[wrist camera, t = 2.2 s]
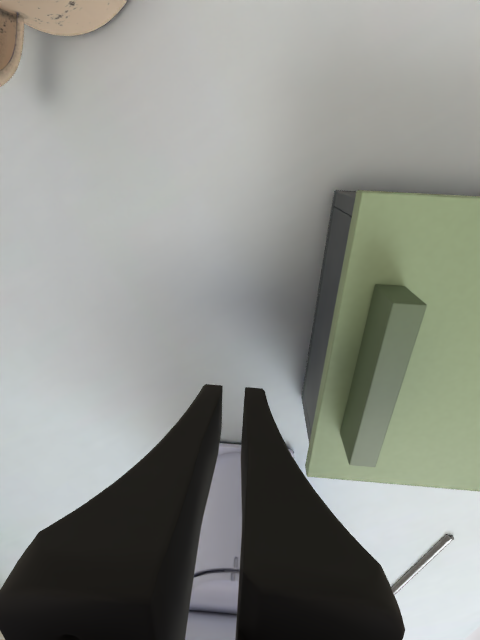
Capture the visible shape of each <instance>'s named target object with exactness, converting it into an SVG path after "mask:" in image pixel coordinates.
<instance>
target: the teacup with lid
mask: <svg viewBox="0 0 480 640" xmlns="http://www.w3.org/2000/svg"><path fill="white" fill-rule="evenodd" d="M126 2H127V0H0V87H1V86H3V85H4V84H5V83H7V82H8V81H9V80H10V79H11V78H12V76H13V75H14V73H15V72H16V70H17V68H18V65H19V62H20V59H21V54H22V48H23V38H24V24H26V25H28V26H30V27H32V28H34V29H37V30H39V31H42V32H45V33H49V34H52V35H59V36H76V35H81V34H86V33H89V32H91V31H94V30H96V29H98V28H100V27H101V26H103V25H104V24H106V23H107V22H109V21H110V20H111V19H112V18H113V17H114V16H115V15H116V14H117V13H118V12H119V11H120V10H121V9H122V7H123V6H124V5H125V3H126Z"/></svg>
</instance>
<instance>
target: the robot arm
mask: <svg viewBox="0 0 480 640" xmlns="http://www.w3.org/2000/svg"><path fill="white" fill-rule="evenodd" d="M221 424H222V386H221V385H207V384H206V385H205V386H203V387H202V389H201V391H200V392H199V394H198V395H197V397H196V398H195V400H194V401H193V403H192V404H191V405H190V407H189V408H188V410H187V411H186V412H185V413H184V415H183V416H182V417H181V418H180V420H179V421H178V422H177V423H176V425H175V426H174V427H173V428H172V429H171V430H170V431H169V432H168V433H167V435H166V436H165V437H164V438H163V439H162V440H161V441H160V442H159V443H158V444H157V445H156V446H155V447H154V448H153V449H152V450H151V451H150V452H149V453H148V454H147V455H146V456H145V457H144V458H143V459H142V460H141V461H140V462H138V463H137V464H136V465H135V466H134V467H133V468H131V469H130V470H129V471H128V472H127V473H126V474H124V475H123V476H122V477H121V478H119V479H118V480H117V481H116V482H114V483H113V484H112V485H110V486H109V487H108V488H106V489H105V490H103V491H102V492H101V493H99V494H98V495H97V496H95V497H94V498H92V499H91V500H90V501H88V502H87V503H85V504H84V505H82V506H81V507H79V508H78V509H76V510H75V511H73V512H71V513H70V514H68V515H67V516H65V517H63V518H62V519H60V520H58V521H57V522H55V523H54V524H52V525H50V526H49V527H47V528H45V529H44V530H42V531H40V532H39V533H38V534H37V536H36V537H35V539H34V540H33V541H32V543H31V544H30V545H29V546H28V548H27V549H26V550H25V552H24V553H23V555H22V556H21V558H20V559H19V560H18V562H17V564H16V565H15V567H14V569H13V570H12V572H11V573H10V575H9V577H8V578H7V580H6V581H5V583H4V585H3V586H2V588H1V589H0V631H1V633H2V634H3V636H4V638H5V640H402V639H403V636H404V632H405V627H404V624H403V620H402V616H401V612H400V609H399V606H398V604H397V601H396V598H395V596H394V594H393V591H392V589H391V587H390V584H389V582H388V580H387V578H386V575H385V573H384V571H383V569H382V567H381V565H380V564H379V563H378V562H377V561H376V560H375V559H374V558H373V557H372V556H371V555H370V554H369V553H368V552H367V551H366V550H365V549H364V548H363V547H362V546H361V545H360V544H359V542H358V541H357V540H356V539H355V538H354V537H353V536H352V535H351V534H350V533H349V532H348V531H347V529H346V528H345V527H344V526H343V525H342V524H341V523H340V521H339V520H338V519H337V518H336V517H335V516H334V514H333V513H332V512H331V511H330V509H329V508H328V507H327V505H326V504H325V503H324V502H323V500H322V499H321V498H320V497H319V495H318V494H317V493H316V492H315V490H314V489H313V487H312V486H311V485H310V483H309V482H308V480H307V479H306V477H305V476H304V474H303V473H302V471H301V470H300V468H299V467H298V465H297V463H296V462H295V460H294V452H293V451H292V450H291V449H288V448H287V446H286V444H285V442H284V440H283V438H282V436H281V434H280V432H279V430H278V428H277V426H276V423H275V421H274V419H273V416H272V414H271V411H270V408H269V406H268V403H267V399H266V395H265V391H264V390H263V389H260V388H247V387H245V397H244V412H243V427H242V443H241V445H238V444H226V443H220V435H221Z"/></svg>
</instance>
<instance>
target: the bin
mask: <svg viewBox="0 0 480 640" xmlns="http://www.w3.org/2000/svg"><path fill="white" fill-rule="evenodd" d="M356 192H357V191H339V190H335V191H334V197H333V203H332V209H331V215H330V222H329V228H328V234H327V240H326V247H325V253H324V259H323V266H322V272H321V278H320V284H319V291H318V297H317V303H316V310H315V316H314V322H313V328H312V335H311V341H310V347H309V353H308V360H307V366H306V372H305V379H304V385H303V391H302V403H303V409H304V415H305V421H306V427H307V433H308V439H309V443H310V438H311V432H312V427H313V422H314V416H315V411H316V406H317V400H318V395H319V389H320V384H321V379H322V373H323V368H324V363H325V357H326V352H327V347H328V341H329V336H330V331H331V325H332V320H333V315H334V309H335V304H336V299H337V293H338V288H339V283H340V277H341V272H342V266H343V261H344V256H345V250H346V245H347V240H348V234H349V229H350V224H351V218H352V213H353V208H354V202H355V197H356Z"/></svg>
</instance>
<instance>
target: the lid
mask: <svg viewBox="0 0 480 640" xmlns="http://www.w3.org/2000/svg"><path fill="white" fill-rule="evenodd" d="M305 466H306V473H307V476H308V477H318V478H330V479H342V480H353V481H365V482H377V483H388V484H400V485H411V486H423V487H435V488H446V489H458V490H470V491H480V196H462V195H443V194H423V193H404V192H385V191H366V190H357V192H356V197H355V202H354V208H353V213H352V218H351V224H350V229H349V234H348V240H347V245H346V250H345V256H344V261H343V266H342V272H341V277H340V283H339V288H338V293H337V299H336V304H335V309H334V315H333V320H332V325H331V331H330V336H329V341H328V347H327V352H326V357H325V363H324V368H323V373H322V379H321V384H320V389H319V395H318V400H317V406H316V411H315V416H314V422H313V427H312V432H311V438H310V443H309V448H308V454H307V459H306V464H305Z"/></svg>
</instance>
